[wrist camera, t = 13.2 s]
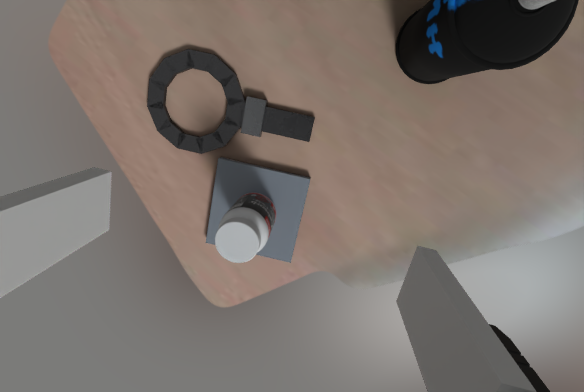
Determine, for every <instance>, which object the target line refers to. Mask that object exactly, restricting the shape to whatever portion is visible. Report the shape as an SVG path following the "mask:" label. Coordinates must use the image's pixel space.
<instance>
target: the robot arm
mask: <svg viewBox="0 0 584 392" xmlns="http://www.w3.org/2000/svg"><path fill="white" fill-rule="evenodd" d="M111 176H112V172H111V171H108V170H103V169H99V168H95V167H94V168H90V169H87V170H84V171H81V172H78V173H75V174H71V175H68V176H65V177H62V178H59V179H56V180H52V181H49V182H46V183H43V184H40V185H37V186H33V187H30V188H27V189H24V190H20V191H17V192H14V193H11V194H8V195H5V196H1V197H0V298H1V297H3V296H4V295H6V294H7V293H9V292H11V291H12V290H14V289H15V288H17V287H19V286H20V285H22V284H23V283H25V282H27V281H28V280H30V279H31V278H33V277H34V276H36V275H38V274H39V273H41V272H43V271H44V270H46V269H47V268H49V267H51V266H52V265H54V264H55V263H57V262H59V261H60V260H62V259H63V258H65V257H67V256H68V255H70V254H71V253H73V252H74V251H76V250H78V249H79V248H81V247H83V246H84V245H86V244H87V243H89V242H90V241H92V240H94V239H95V238H97V237H99V236H100V235H102V234H103V233H105V232H107V231H108V230H109V223H110V199H111V198H110V197H111ZM397 304H398V307H399V310H400V313H401V316H402V319H403V321H404V325H405V328H406V330H407V333H408V336H409V339H410V342H411V345H412V348H413V351H414V354H415V357H416V359H417V362H418V365H419V368H420V371H421V374H422V377H423V380H424V383H425V385H426V389H427V391H428V392H550V391H549V389H548V388H547V387H546V385H545V384H544V383H543V382H542V380H541V379H540V378H539V376H538V375H537V374H536V372H535V371H534V370H533V368H531V367H530V364H529V363H528V362H527V360H526V359H525V358H524V356H521V352H520V351H519V350H518V349H517V347H516V346H515V345H514V343H513V342H512V341H511V339H510V338H508V337H507V336H506V335H505V334H504V333H503V332H502V331H500V330H499V329H498V328H497V327H496V326H494V325H490V324H488V323H487V321H486V320H485V319H484V317H483V316H482V314H481V313H480V312H479V310H478V309H477V307H476V306H475V304H474V303H473V302H472V300H471V299H470V297H469V296H468V295H467V293H466V292H465V290H464V289H463V288H462V286H461V285H460V283H459V282H458V281H457V279H456V278H455V276H454V275H453V274H452V272H451V271H450V269H449V268H448V266H447V265H446V264H445V262H444V261H443V259H442V258H441V257H440V255H439V254H438V252H437V251H436V250H433V249H429V248H425V247H421V246H417V249H416V251H415V254H414V256H413V259H412V262H411V264H410V267H409V269H408V272H407V275H406V277H405V280H404V282H403V285H402V288H401V290H400V293H399V296H398V298H397Z"/></svg>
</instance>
